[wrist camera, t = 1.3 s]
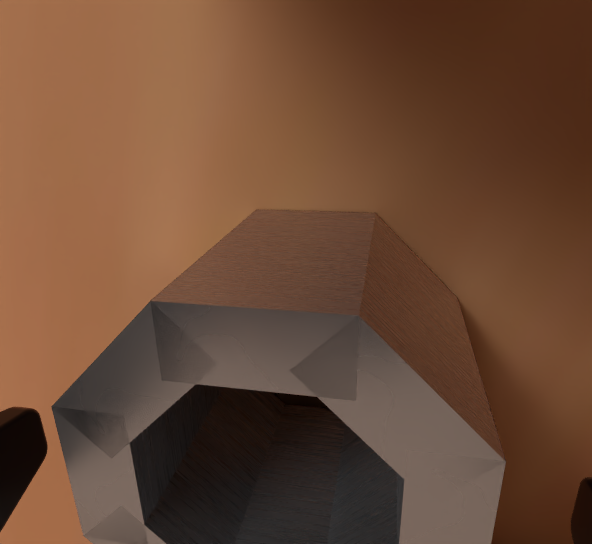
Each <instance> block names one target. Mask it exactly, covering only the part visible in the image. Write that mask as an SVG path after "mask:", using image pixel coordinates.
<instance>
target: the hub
mask: <svg viewBox="0 0 592 544" xmlns="http://www.w3.org/2000/svg"><path fill="white" fill-rule="evenodd" d="M272 392H276V393H286V394H296V395H305V396H315V397H318V398H319V399H320V400H321V401H322V402H323V403H324V404H325V405H326V406H327V407H328V408H320V407H311V406H301V405H292V404H284V403H283V402H282V401H281V400H280V399H279V398H278V397H277V396H276V395H275V394H273V393H272ZM51 407H52V411H53V415H54V419H55V423H56V427H57V431H58V435H59V439H60V443H61V447H62V451H63V455H64V459H65V463H66V467H67V471H68V475H69V479H70V483H71V487H72V491H73V495H74V499H75V503H76V507H77V511H78V515H79V520H80V524H81V528H82V532H83V536H84V537H86V538H87V539H88V540H89V541H90V542H92V543H93V544H491V541H492V536H493V530H494V525H495V519H496V514H497V508H498V503H499V497H500V491H501V486H502V480H503V475H504V469H505V464H506V460H505V457H504V453H503V450H502V447H501V443H500V440H499V436H498V433H497V430H496V426H495V423H494V420H493V416H492V413H491V409H490V406H489V403H488V399H487V396H486V393H485V389H484V386H483V382H482V379H481V376H480V372H479V369H478V366H477V362H476V359H475V355H474V352H473V349H472V345H471V342H470V339H469V335H468V332H467V328H466V325H465V322H464V318H463V315H462V312H461V308H460V305H459V301H458V298H457V297H456V296H455V295H454V294H453V293H452V292H451V291H450V290H449V289H448V288H447V287H446V286H445V285H444V284H443V283H442V282H441V281H440V280H439V279H438V277H437V276H436V275H435V274H434V273H433V272H432V271H431V270H430V269H429V268H428V267H427V266H426V265H425V264H424V263H423V262H422V261H421V260H420V259H419V258H418V257H417V256H416V255H415V254H414V253H413V252H412V250H411V249H410V248H409V247H408V246H407V245H406V244H405V243H404V242H403V241H402V240H401V239H400V238H399V237H398V236H397V235H396V234H395V233H394V232H393V231H392V230H391V229H390V228H389V227H388V226H387V225H386V223H385V222H384V221H383V220H382V219H381V218H380V217H379V216H378V215H377V214H376V213H358V212H324V211H289V210H255V211H254V212H253V213H252V214H251V215H249V216H248V217H247V218H246V219H245V220H244V221H242V222H241V223H240V224H239V225H238V226H237V227H235V228H234V229H233V230H232V231H231V232H230V233H228V234H227V235H226V236H225V237H224V238H223V239H222V240H220V241H219V242H218V243H217V244H216V245H215V246H213V247H212V248H211V249H210V250H209V251H208V252H206V253H205V254H204V255H203V256H202V257H201V258H199V259H198V260H197V261H196V262H195V263H194V264H192V265H191V266H190V267H189V268H188V269H187V270H186V271H184V272H183V273H182V274H181V275H180V276H179V277H177V278H176V279H175V280H174V281H173V282H172V283H170V284H169V285H168V286H167V287H166V288H165V289H163V290H162V291H161V292H160V293H159V294H158V295H156V296H155V297H154V298H153V299H152V300H151V301H150V302H149V303H148V304H147V305H146V306H145V307H144V309H143V310H142V311H141V312H140V313H139V314H138V315H137V316H136V317H135V318H134V319H133V320H132V321H131V322H130V323H129V325H128V326H127V327H126V328H125V329H124V330H123V331H122V332H121V333H120V334H119V335H118V336H117V337H116V338H115V339H114V341H113V342H112V343H111V344H110V345H109V346H108V347H107V348H106V349H105V350H104V351H103V352H102V353H101V354H100V356H99V357H98V358H97V359H96V360H95V361H94V362H93V363H92V364H91V365H90V366H89V367H88V368H87V369H86V370H85V372H84V373H83V374H82V375H81V376H80V377H79V378H78V379H77V380H76V381H75V382H74V383H73V384H72V385H71V386H70V388H69V389H68V390H67V391H66V392H65V393H64V394H63V395H62V396H61V397H60V398H59V399H58V400H57V401H56V402H55V404H54V405H52V406H51Z"/></svg>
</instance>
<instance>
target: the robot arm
mask: <svg viewBox="0 0 592 544" xmlns="http://www.w3.org/2000/svg"><path fill="white" fill-rule="evenodd" d="M46 454H47V441H46V437H45V433H44V429H43V425H42V422H41V418H40V415H39V413H38V412H37V411H36V410H35V409H32V408H24V407H11V408H8V409H6V410H4V411H1V412H0V532H1V530H2V528H3V527H4V525H5V524H6V522H7V520H8V519H9V517H10V515H11V514H12V512H13V510H14V509H15V507H16V505H17V504H18V502H19V500H20V499H21V497H22V495H23V494H24V492H25V490H26V489H27V487H28V486H29V484H30V482H31V481H32V479H33V477H34V476H35V474H36V472H37V471H38V469H39V467H40V466H41V464H42V462H43V461H44V459H45V456H46ZM571 533H572V538H573V542H574V544H592V477H587V478H584V479H583V480H582V481H581V483H580V486H579V490H578V494H577V498H576V502H575V506H574V510H573V513H572V518H571Z"/></svg>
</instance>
